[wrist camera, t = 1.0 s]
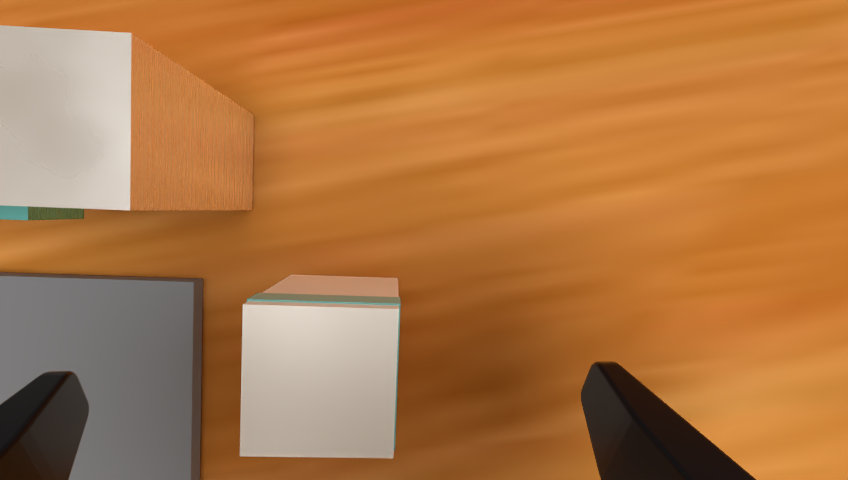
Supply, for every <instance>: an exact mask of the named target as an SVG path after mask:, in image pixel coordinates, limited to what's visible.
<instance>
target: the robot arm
mask: <svg viewBox="0 0 848 480" xmlns="http://www.w3.org/2000/svg"><path fill="white" fill-rule="evenodd" d="M581 402H582V406H583V410H584V414H585V418H586V422H587V426H588V430H589V434H590V438H591V443H592V447H593V451H594V455H595V459H596V463H597V467H598V471H599V474H600V478H601V480H756V479H755V478H754V477H752V476H751V475H750V474H749V473H748V472H746V471H745V470H744V469H743V468H742V467H741V466H739V465H738V464H737V463H736V462H735V461H733V460H732V459H731V458H730V457H729V456H727V455H726V454H725V453H724V452H723V451H722V450H720V449H719V448H718V447H717V446H716V445H714V444H713V443H712V442H711V441H710V440H708V439H707V438H706V437H705V436H704V435H702V434H701V433H700V432H699V431H698V430H697V429H695V428H694V427H693V426H692V425H691V424H689V423H688V422H687V421H686V420H685V419H683V418H682V417H681V416H680V415H679V414H678V413H676V412H675V411H674V410H673V409H672V408H670V407H669V406H668V405H667V404H666V403H664V402H663V401H662V400H661V399H660V398H658V397H657V396H656V395H655V394H654V393H653V392H651V391H650V390H649V389H648V388H647V387H645V386H644V385H643V384H642V383H641V382H639V381H638V380H637V379H636V378H635V377H634V376H632V375H631V374H630V373H629V372H628V371H626V370H625V369H624V368H623V367H622V366H620V365H619V364H618V363H616V362H595V363H594V364H592V366H591V368H590V370H589V373H588V375H587V378H586V380H585V383H584V385H583V388H582V392H581ZM88 415H89V403H88V400H87V398H86V395H85V393H84V391H83V388H82V386H81V384H80V381H79V379H78V377H77V375H76V374H75V373H74V372H72V371H49V372H45V373H43V374H41V375H39V376H38V377H37V378H35V379H34V380H32V381H31V382H30V383H28V384H27V385H26V386H24V387H23V388H22V389H20V390H19V391H18V392H16V393H15V394H14V395H12V396H11V397H9V398H8V399H7V400H5V401H4V402H3V403H1V404H0V480H69V477H70V474H71V470H72V467H73V464H74V461H75V458H76V454H77V451H78V448H79V445H80V441H81V438H82V435H83V432H84V428H85V425H86V422H87V419H88Z"/></svg>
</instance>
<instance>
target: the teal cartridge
mask: <svg viewBox="0 0 848 480" xmlns="http://www.w3.org/2000/svg"><path fill="white" fill-rule="evenodd" d="M400 305H401V303H400V297H399V293H398V278H384V277H354V276H323V275H293V274H291V275H290V276H288V277H286V278H285V279H283V280H281V281H280V282H278V283H277V284H275V285H273V286H272V287H270V288H269V289H267V290H265V291H264V292H262V293H256V294H255V295H253V296H251V297H250V298H248V299H247V302H246V303H244V304H243V319H242V368H241V418H240V456H247V457H326V458H393V454H394V451H395V437H396V410H397V384H398V358H399V331H400Z"/></svg>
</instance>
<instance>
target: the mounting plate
mask: <svg viewBox="0 0 848 480" xmlns="http://www.w3.org/2000/svg"><path fill="white" fill-rule="evenodd" d="M202 309H203V279H196V278H165V277H133V276H102V275H71V274H39V273H8V272H0V404H1V403H3V402H4V401H5V400H7V399H8V398H9V397H11V396H12V395H14V394H15V393H16V392H18V391H19V390H20V389H22V388H23V387H24V386H26V385H27V384H28V383H30V382H31V381H32V380H34V379H35V378H37V377H38V376H39V375H41V374H43V373H45V372H49V371H72V372H74V373H75V374H76V375H77V377H78V379H79V381H80V384H81V386H82V388H83V391H84V393H85V395H86V398H87V400H88V403H89V415H88V419H87V422H86V425H85V428H84V432H83V435H82V438H81V441H80V445H79V448H78V451H77V454H76V458H75V461H74V464H73V467H72V470H71V474H70V477H69V480H200V436H201V372H202Z"/></svg>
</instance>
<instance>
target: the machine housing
mask: <svg viewBox="0 0 848 480" xmlns="http://www.w3.org/2000/svg"><path fill="white" fill-rule="evenodd" d="M253 147H254V115H253V114H252V113H250V112H249V111H247V110H246V109H244V108H243V107H241V106H240V105H238V104H237V103H235V102H234V101H232V100H231V99H229V98H228V97H226V96H225V95H223V94H222V93H220V92H219V91H217V90H216V89H214V88H213V87H211V86H210V85H208V84H207V83H205V82H204V81H202V80H201V79H199V78H198V77H196V76H195V75H193V74H192V73H191V72H189V71H188V70H186V69H185V68H183V67H182V66H180V65H179V64H177V63H176V62H174V61H173V60H171V59H170V58H168V57H167V56H165V55H164V54H162V53H161V52H159V51H158V50H156V49H155V48H153V47H152V46H150V45H149V44H147V43H146V42H144V41H143V40H141V39H140V38H138V37H137V36H135V35H134V34H132V33H122V32H105V31H88V30H70V29H53V28H36V27H19V26H1V25H0V219H8V220H55V219H84V209H106V210H252V194H253Z"/></svg>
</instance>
